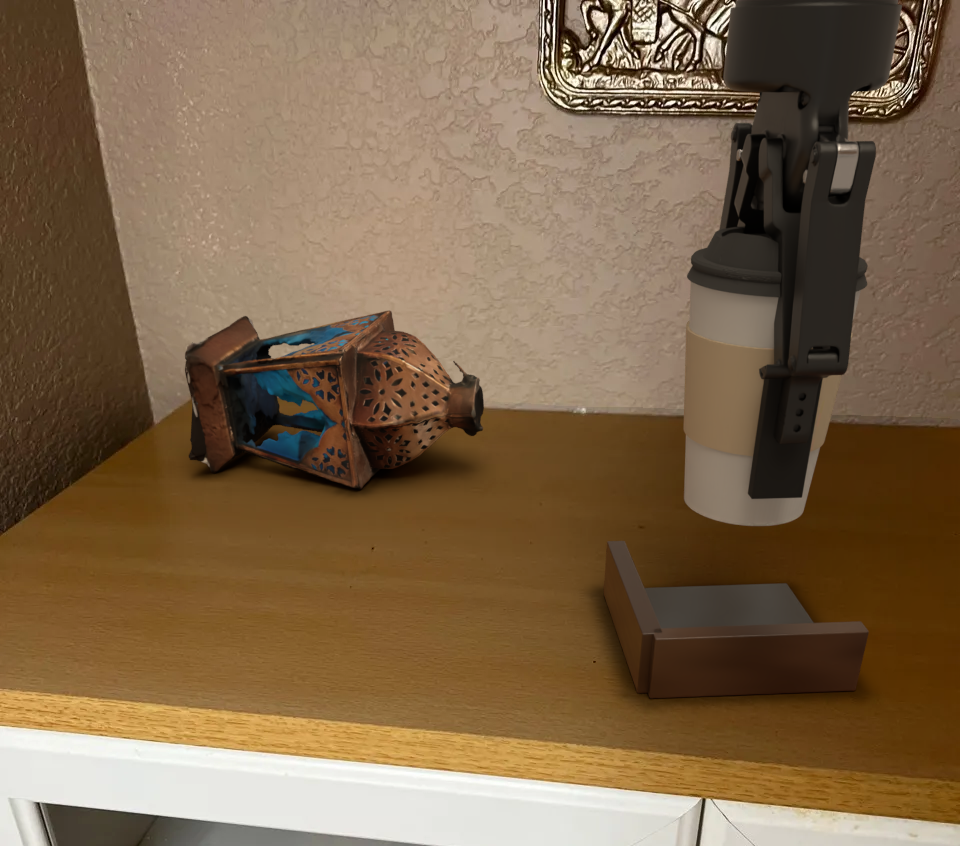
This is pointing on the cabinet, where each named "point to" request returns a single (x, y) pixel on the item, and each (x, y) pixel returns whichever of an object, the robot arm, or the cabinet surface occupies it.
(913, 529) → the cabinet surface
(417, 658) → the cabinet surface
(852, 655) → the corner guide
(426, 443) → the lantern
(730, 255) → the coffee cup
